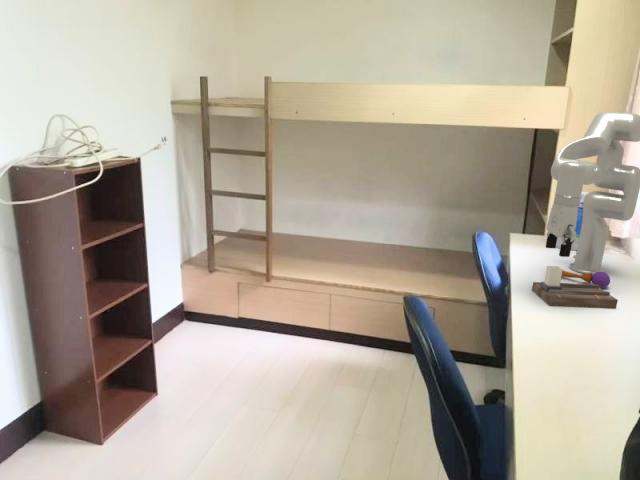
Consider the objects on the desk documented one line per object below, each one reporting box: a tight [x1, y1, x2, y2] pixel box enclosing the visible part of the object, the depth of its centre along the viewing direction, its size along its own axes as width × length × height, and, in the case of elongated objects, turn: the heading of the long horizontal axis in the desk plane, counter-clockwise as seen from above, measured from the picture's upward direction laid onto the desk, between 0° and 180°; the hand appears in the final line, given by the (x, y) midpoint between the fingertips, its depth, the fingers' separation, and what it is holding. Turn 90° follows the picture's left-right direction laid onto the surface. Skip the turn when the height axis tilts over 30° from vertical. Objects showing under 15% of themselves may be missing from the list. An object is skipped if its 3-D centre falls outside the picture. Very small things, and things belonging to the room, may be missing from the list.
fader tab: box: [540, 265, 564, 291], centre depth 174 cm, size 4×5×8 cm
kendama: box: [561, 270, 611, 289], centre depth 193 cm, size 6×6×20 cm
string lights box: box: [555, 191, 589, 251], centre depth 235 cm, size 13×8×26 cm, turn 66°
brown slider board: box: [531, 281, 619, 309], centre depth 176 cm, size 14×22×4 cm, turn 91°
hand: (557, 252), depth 171 cm, fingers open, 9 cm apart
